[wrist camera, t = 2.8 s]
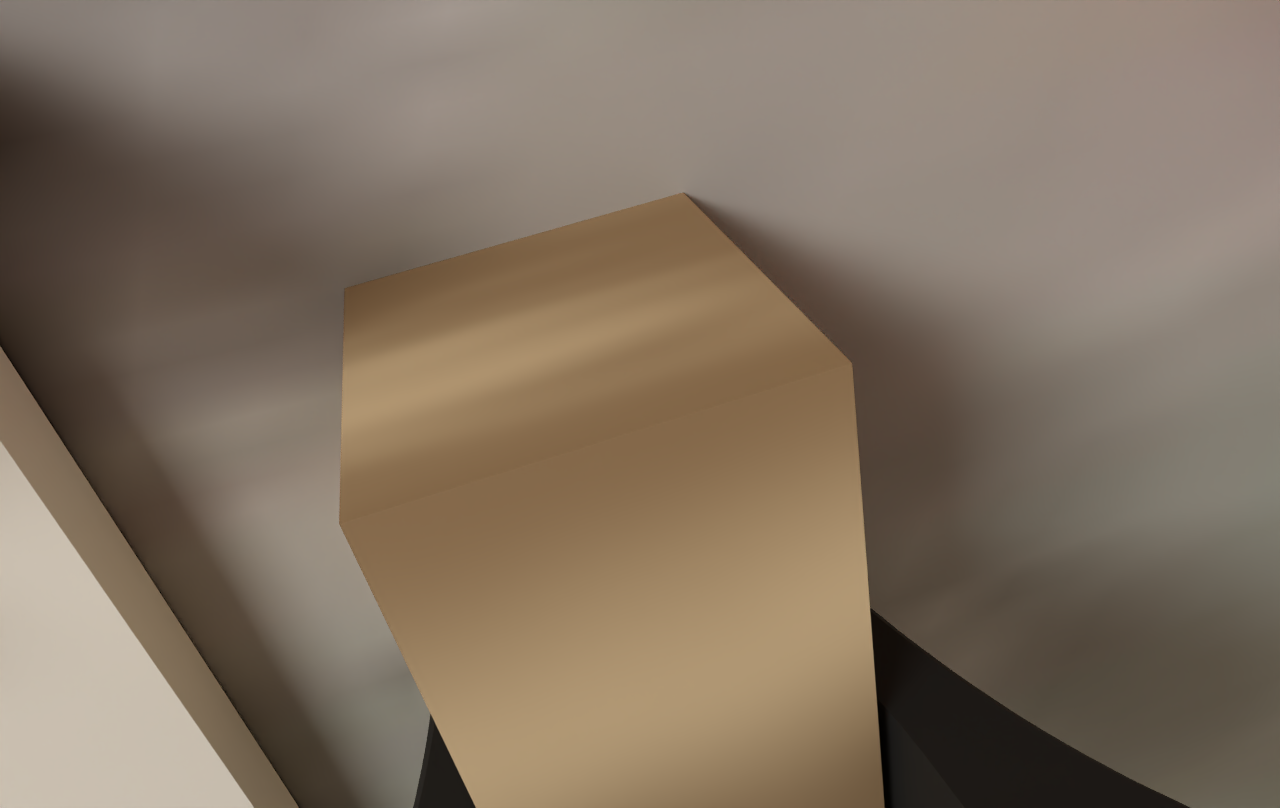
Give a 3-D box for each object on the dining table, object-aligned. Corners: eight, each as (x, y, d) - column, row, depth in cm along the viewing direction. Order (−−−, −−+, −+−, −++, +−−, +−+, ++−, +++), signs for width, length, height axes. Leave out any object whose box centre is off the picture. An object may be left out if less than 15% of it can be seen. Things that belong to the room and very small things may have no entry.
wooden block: (783, 794, 17) (902, 1051, 14) (580, 869, 17) (644, 1157, 13) (680, 189, 11) (852, 362, 7) (344, 283, 10) (339, 523, 7)
